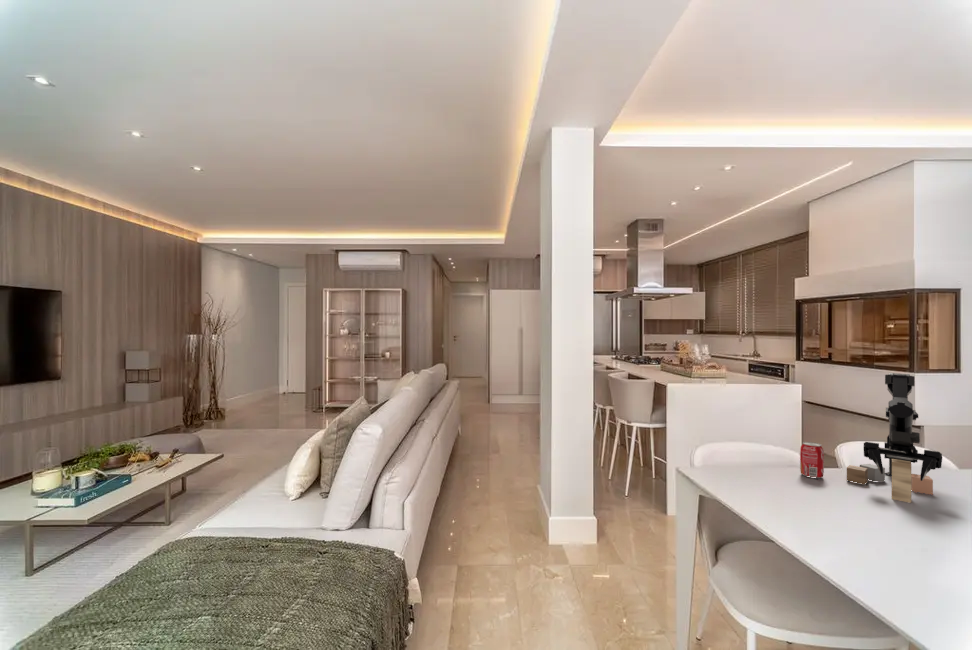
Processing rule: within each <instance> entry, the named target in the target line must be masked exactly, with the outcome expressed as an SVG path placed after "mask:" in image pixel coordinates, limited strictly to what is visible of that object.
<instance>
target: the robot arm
mask: <svg viewBox="0 0 972 650" xmlns="http://www.w3.org/2000/svg"><path fill="white" fill-rule="evenodd" d="M915 378H916V377H915V376H913V375H911V374H910V373H894V372H889V373H888V374H884V385H887V388H886V390H887V391H888V392H889V394H890V395H891V396H892V399H891V400H889V401H888V407H885V418H888V421H889V426H888V427H889V428H888V429H889V430H888V432H889V433H888V435H887V436H886V441H884V447H880V443H879V442H873V441H872V442H871V441H865V442H863V457H865V458H868V460H870V461H873V463H874V465H876V466H877V467H878V469H879V471H880V473H881V474H883V467H884V466H883V462H882V461H883V460H882V456H881V455H884V459H888V471H887V472H885V475H886V474H889V475H888V476H890V475H892V459H898V460H904V461H911V463H913V464H915V463H918V461H922V465H921V470H920V475H921V476H920V480H921V481H923V479H924V477H925V476H927V474H928V473H929V472H930V471H931V470H936V469H942V464H943V453H941V452H940V451H936V450H930V449H924V450H923V453H919V452H918V449H916V446H915V445H914V444H917V445H918V444H920V442H921V440H920V439H921V435H920V434H921V433H920V432H917V431H913V422H914V421H917V419H919V414H918V412H917V411H916V410H915V409H914V406H913V403H912V402H911V401H909V398H908V396H909V395H910V394H911V393H912V389H913V387H915V384H916V383H915V382H916V381H915Z"/></svg>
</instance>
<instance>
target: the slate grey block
mask: <svg viewBox="0 0 972 650" xmlns="http://www.w3.org/2000/svg"><path fill="white" fill-rule="evenodd" d="M859 467H863V468H868V479H869V480H872V481H884V480H885V481H886V479H885V478H886V474H885V473H886V468H885V467H884V466H883V474H881V473H880V471H879V469H878V467H877V465H876V464H872V463H863V464H861V463H860V464H859Z"/></svg>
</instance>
